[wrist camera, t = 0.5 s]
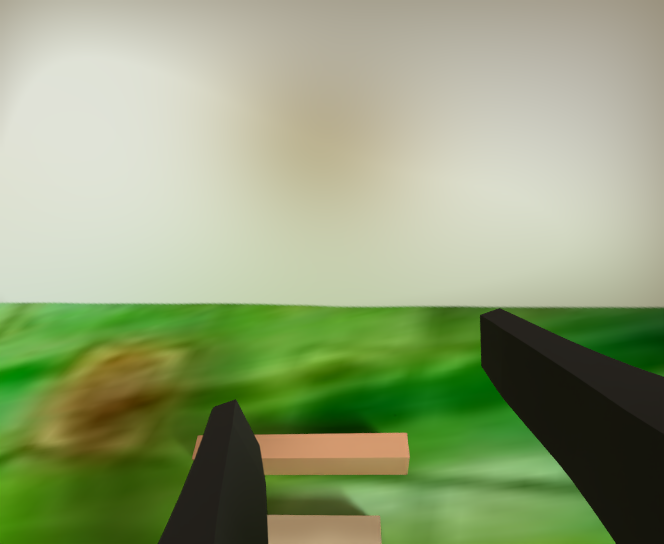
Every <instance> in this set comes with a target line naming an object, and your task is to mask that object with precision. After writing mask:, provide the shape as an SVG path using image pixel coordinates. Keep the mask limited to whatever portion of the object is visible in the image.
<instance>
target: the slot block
mask: <svg viewBox="0 0 664 544" xmlns="http://www.w3.org/2000/svg"><path fill="white" fill-rule="evenodd" d="M267 521H268V544H381V525H380V516H346V515H267Z"/></svg>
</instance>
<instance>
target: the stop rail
mask: <svg viewBox="0 0 664 544" xmlns="http://www.w3.org/2000/svg"><path fill="white" fill-rule="evenodd" d="M202 437H203V435H198V437H197V441H196V445H195V449H194V453H193V457H192V459H193V460H194V459H195V456H196V453H197V451H198V448H199V445H200V443H201V440H202ZM255 437H256V439H257V441H258V443H259V445H260V450H261V456H262V462H263V469H264V475H407V473H408V465H409V458H410V457H409V448H408V438H407V433H354V434H271V435H255Z"/></svg>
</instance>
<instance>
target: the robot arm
mask: <svg viewBox="0 0 664 544" xmlns="http://www.w3.org/2000/svg"><path fill="white" fill-rule="evenodd" d="M480 330H481V366H482V368H483V369H484V371H485V372H486V374H487V375H488V377H489V378H490V380H491V382H492V383H493V385H494V386H495V387H496V389H497V390H498V392H499V393H500V395H501V396H502V397H503V399H504V400H505V401H506V402H507V404H508V405H509V406H510V407H511V408H512V409H513V411H514V412H515V413H516V414H517V415H518V417H519V418H520V419H521V420H522V421H523V422H524V424H525V425H526V426H527V427H528V428H529V429H530V431H531V432H532V433H533V434H534V435H535V436H536V438H537V439H538V440H539V441H540V442H541V443H542V445H543V446H544V447H545V448H546V449H547V450H548V452H549V453H550V454H551V455H552V456H553V457H554V459H555V460H556V461H557V462H558V463H559V465H560V466H561V467H562V468H563V470H564V471H565V472H566V473H567V475H568V476H569V477H570V478H571V480H572V481H573V483H574V484H575V485H576V487H577V488H578V490H579V491H580V492H581V494H582V495H583V497H584V498H585V499H586V501H587V502H588V504H589V505H590V506H591V508H592V509H593V511H594V512H595V513H596V515H597V516H598V518H599V519H600V521H601V522H602V524H603V525H604V526H605V528H606V529H607V531H608V532H609V534H610V535H611V537H612V538H613V540H614V541H615V543H616V544H664V377H663V376H660V375H657V374H654V373H651V372H648V371H645V370H642V369H639V368H637V367H634V366H631V365H628V364H626V363H623V362H621V361H618V360H615V359H613V358H610V357H608V356H605V355H603V354H600V353H598V352H595V351H593V350H591V349H588V348H586V347H583V346H581V345H579V344H576V343H574V342H572V341H570V340H567V339H565V338H563V337H561V336H558V335H556V334H554V333H552V332H550V331H548V330H545V329H543V328H541V327H539V326H537V325H535V324H532V323H530V322H528V321H526V320H524V319H522V318H520V317H518V316H515V315H513V314H511V313H509V312H507V311H504V310H502V309H500V308H499V309H496V310H493V311H490V312H488V313H485V314H482V315H480ZM158 544H268V521H267V500H266V482H265V475H264V469H263V462H262V456H261V450H260V445H259V443H258V441H257V439H256V437H255V435H254V433H253V431H252V430H251V428H250V426H249V424H248V422H247V420H246V418H245V416H244V414H243V412H242V410H241V408H240V406H239V404H238V402H237V401H236V399H235V400H233V401H230V402H227V403H224V404H221V405H218V406H215V407H214V408H213V409H212V411H211V414H210V417H209V420H208V423H207V425H206V428H205V431H204V434H203V437H202V440H201V443H200V445H199V448H198V451H197V453H196V456H195V459H194V461H193V464H192V466H191V469H190V471H189V474H188V476H187V479H186V481H185V484H184V486H183V489H182V491H181V494H180V496H179V498H178V501H177V503H176V505H175V507H174V509H173V512H172V514H171V516H170V518H169V521H168V523H167V525H166V527H165V529H164V532H163V534H162V536H161V538H160V540H159V542H158Z"/></svg>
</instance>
